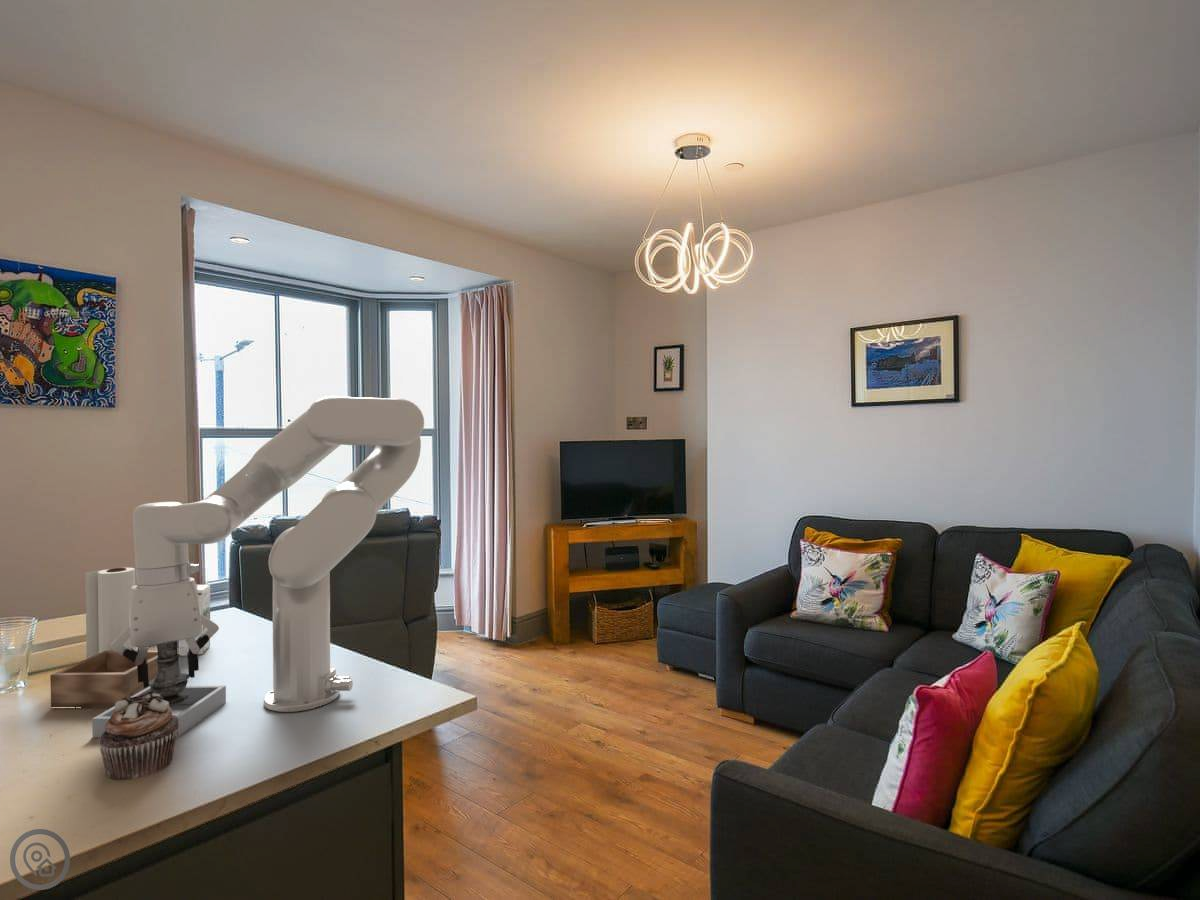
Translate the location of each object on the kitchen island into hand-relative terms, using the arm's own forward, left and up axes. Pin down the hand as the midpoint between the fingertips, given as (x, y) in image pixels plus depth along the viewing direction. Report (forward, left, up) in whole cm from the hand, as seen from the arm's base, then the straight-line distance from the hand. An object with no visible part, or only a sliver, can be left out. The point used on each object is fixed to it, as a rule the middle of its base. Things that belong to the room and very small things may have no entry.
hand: (169, 679), depth 111 cm
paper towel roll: (+24, -21, -7) cm, 32 cm away
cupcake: (-6, +16, -7) cm, 19 cm away
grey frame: (+1, 0, -7) cm, 7 cm away
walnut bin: (+17, -11, -7) cm, 21 cm away
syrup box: (+17, -35, -7) cm, 39 cm away
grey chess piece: (0, 0, -4) cm, 4 cm away
